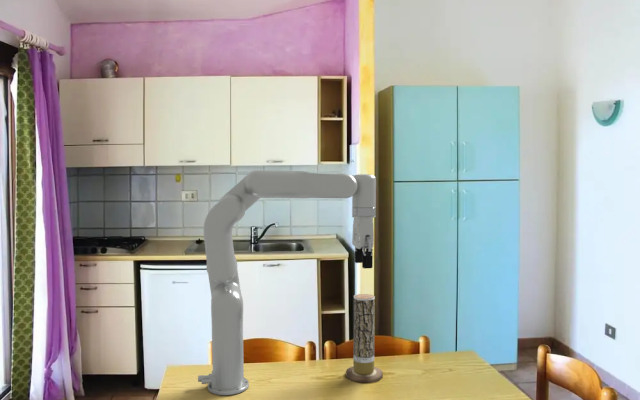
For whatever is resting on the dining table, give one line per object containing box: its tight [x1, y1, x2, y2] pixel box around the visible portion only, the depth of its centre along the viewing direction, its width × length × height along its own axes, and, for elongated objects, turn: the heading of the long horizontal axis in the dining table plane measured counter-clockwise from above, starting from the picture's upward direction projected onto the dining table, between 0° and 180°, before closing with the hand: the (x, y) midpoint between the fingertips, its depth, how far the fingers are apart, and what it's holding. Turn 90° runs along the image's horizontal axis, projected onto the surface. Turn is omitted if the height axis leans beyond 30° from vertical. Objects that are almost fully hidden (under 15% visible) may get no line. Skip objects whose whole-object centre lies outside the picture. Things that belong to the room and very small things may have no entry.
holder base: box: [345, 366, 383, 384], centre depth 174 cm, size 12×12×1 cm
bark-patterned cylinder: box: [352, 293, 376, 375], centre depth 174 cm, size 7×7×25 cm
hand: (363, 265), depth 172 cm, fingers open, 9 cm apart
